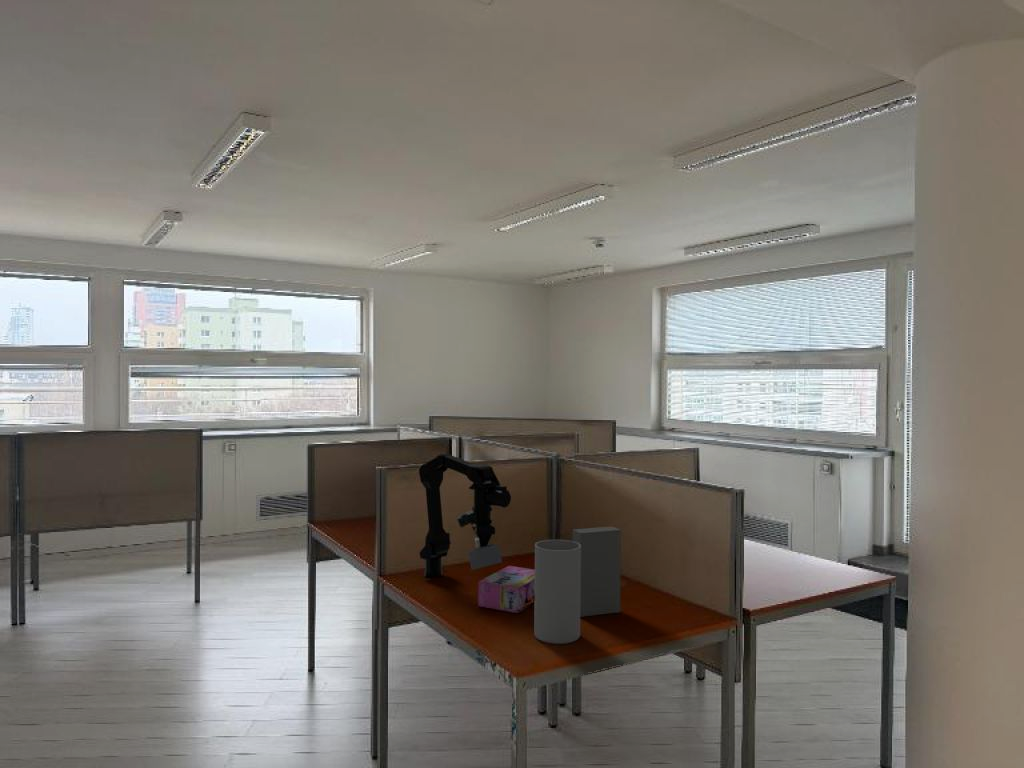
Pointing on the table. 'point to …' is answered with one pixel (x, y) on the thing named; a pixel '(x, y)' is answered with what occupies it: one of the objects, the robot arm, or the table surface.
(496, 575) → the gum box
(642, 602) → the table surface
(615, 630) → the table surface
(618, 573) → the upright grey panel
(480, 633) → the table surface
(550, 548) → the cylinder vase
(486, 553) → the pusher
